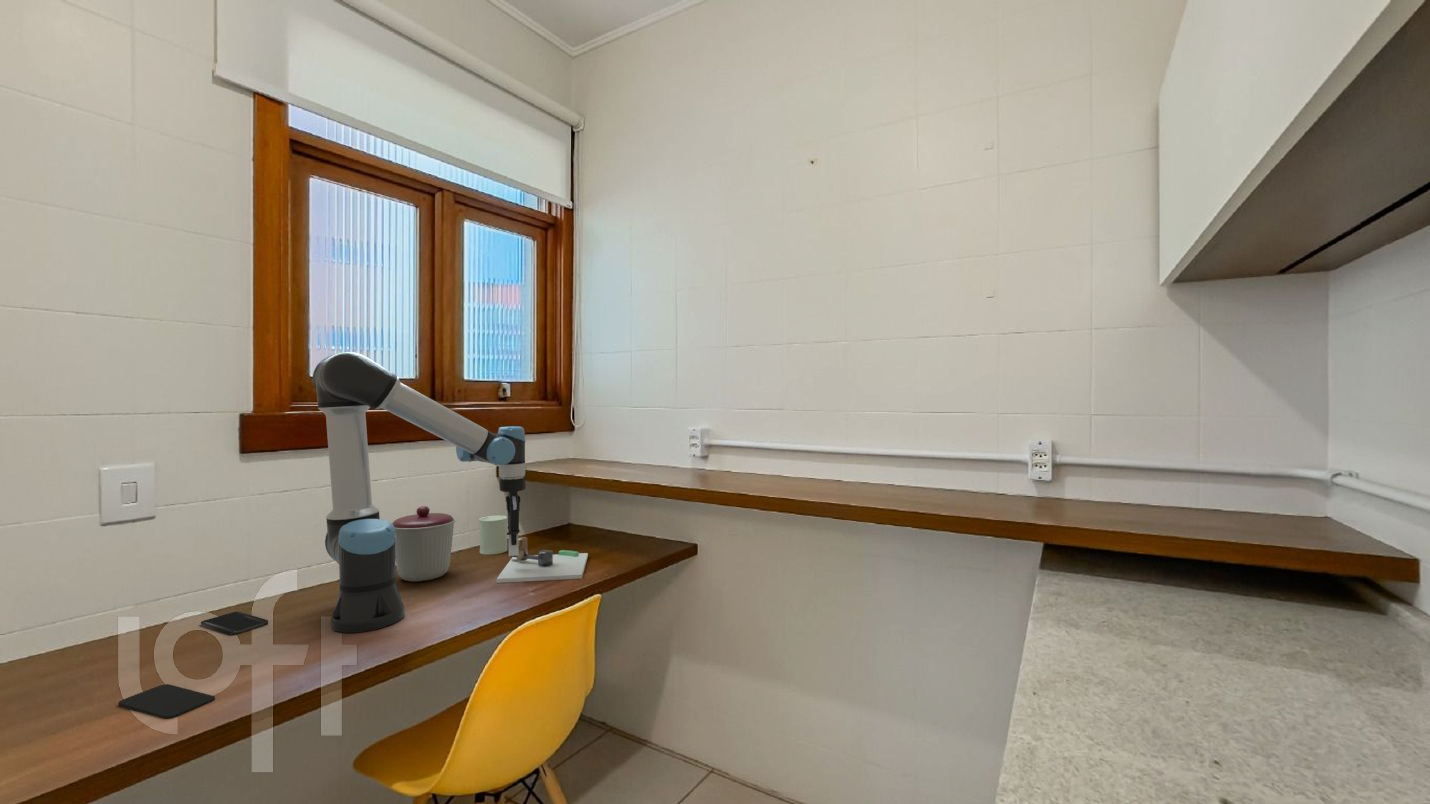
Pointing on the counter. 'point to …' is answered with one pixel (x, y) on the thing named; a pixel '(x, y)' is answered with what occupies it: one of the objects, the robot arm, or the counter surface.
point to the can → (493, 535)
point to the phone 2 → (234, 623)
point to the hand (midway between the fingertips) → (513, 554)
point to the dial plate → (545, 568)
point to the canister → (423, 544)
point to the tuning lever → (543, 556)
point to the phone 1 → (166, 701)
